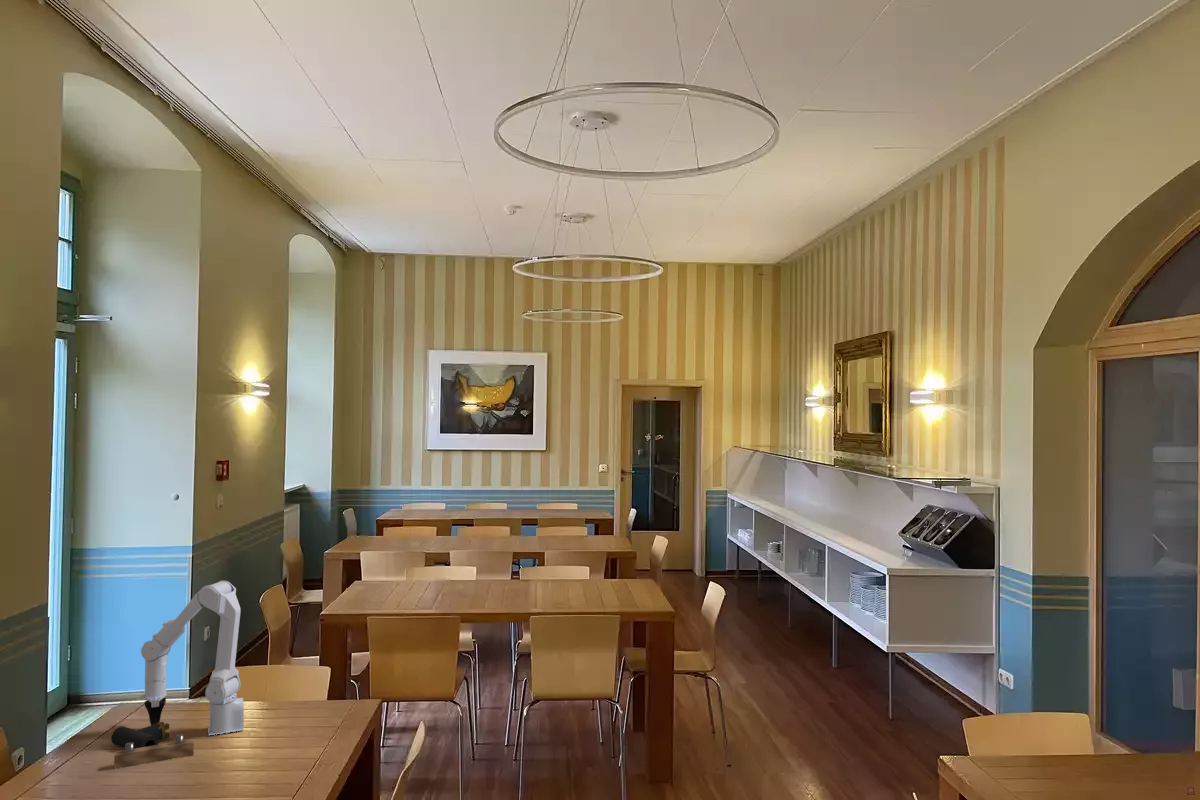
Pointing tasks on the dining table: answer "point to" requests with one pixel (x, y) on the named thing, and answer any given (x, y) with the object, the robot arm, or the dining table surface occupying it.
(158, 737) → the pipe connector
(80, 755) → the dining table surface
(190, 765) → the dining table surface
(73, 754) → the dining table surface
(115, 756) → the bar
